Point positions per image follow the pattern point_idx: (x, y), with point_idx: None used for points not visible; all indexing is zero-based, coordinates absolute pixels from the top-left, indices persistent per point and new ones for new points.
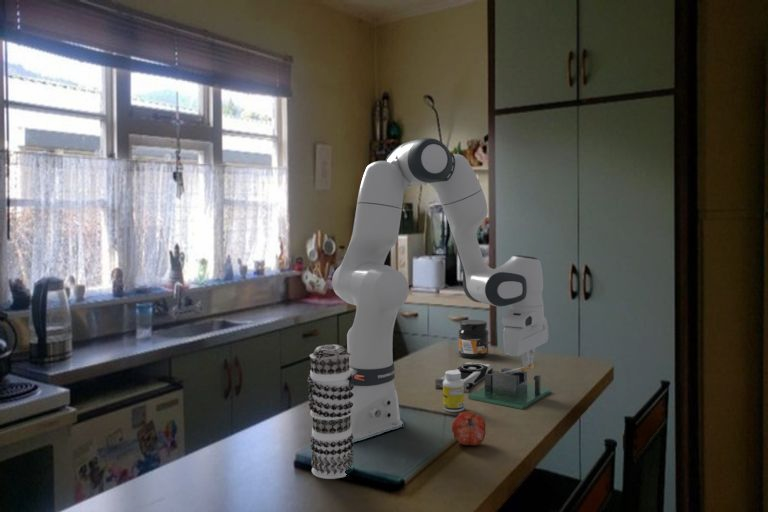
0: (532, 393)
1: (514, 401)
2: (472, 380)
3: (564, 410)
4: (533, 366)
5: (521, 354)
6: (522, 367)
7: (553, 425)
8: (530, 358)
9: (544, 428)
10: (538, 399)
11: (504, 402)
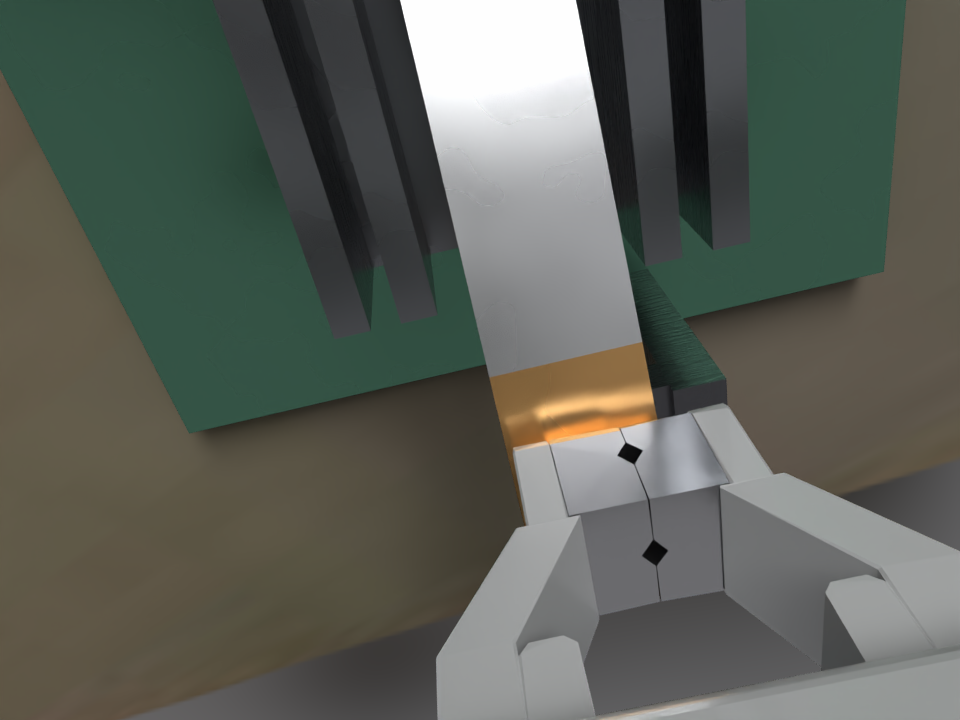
0: None
1: (211, 310)
2: None
3: (464, 593)
4: None
5: (449, 686)
6: (586, 346)
7: (141, 710)
8: (715, 569)
9: (41, 714)
10: None
11: (99, 249)
